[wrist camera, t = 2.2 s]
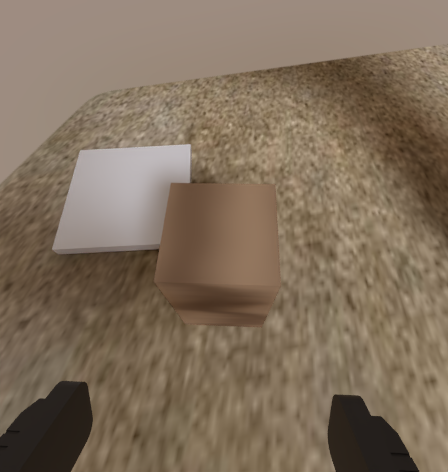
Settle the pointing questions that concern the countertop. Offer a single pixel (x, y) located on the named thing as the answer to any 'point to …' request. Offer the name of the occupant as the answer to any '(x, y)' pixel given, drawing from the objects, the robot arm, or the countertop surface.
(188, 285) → the walnut block
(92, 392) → the countertop surface
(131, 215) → the ceramic tile
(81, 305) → the countertop surface
